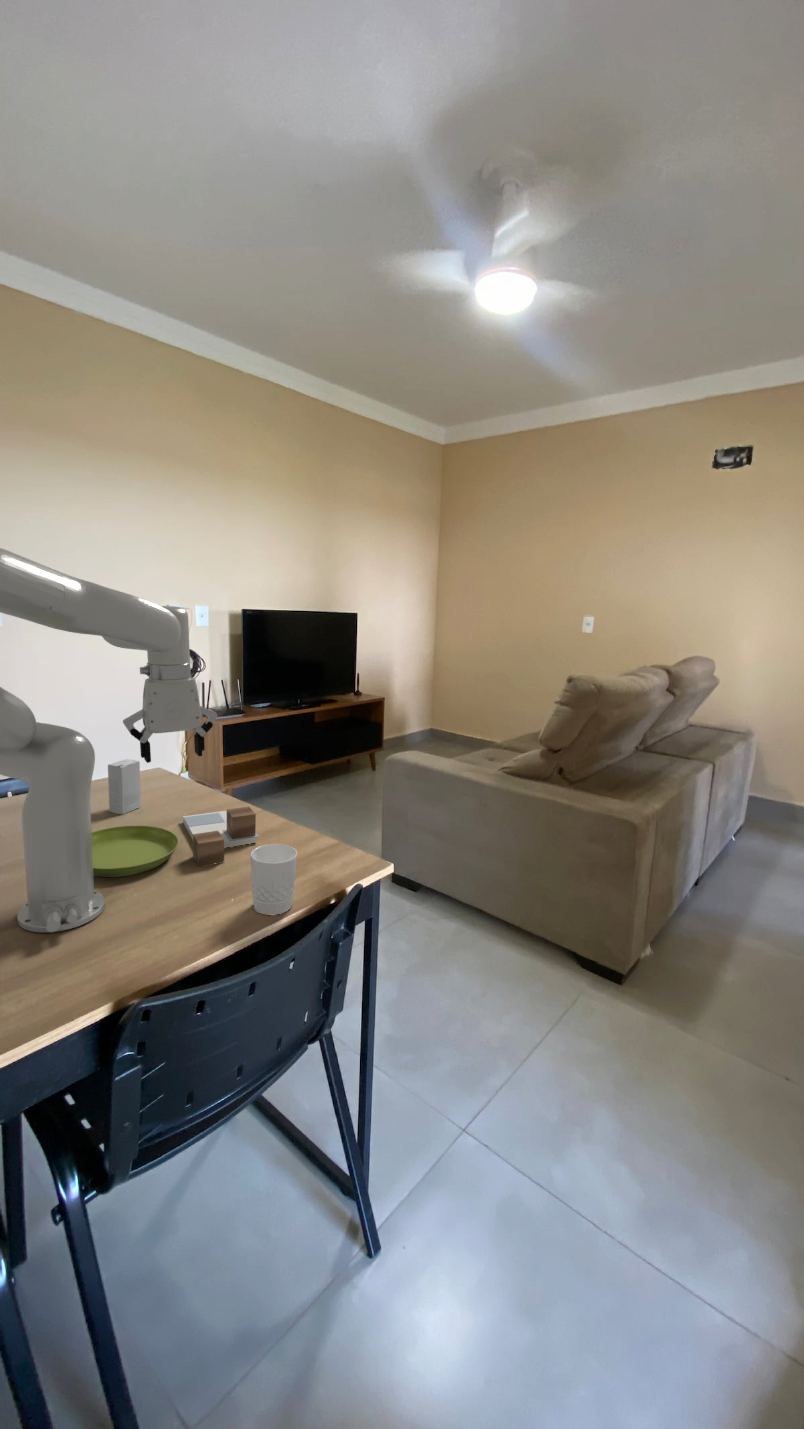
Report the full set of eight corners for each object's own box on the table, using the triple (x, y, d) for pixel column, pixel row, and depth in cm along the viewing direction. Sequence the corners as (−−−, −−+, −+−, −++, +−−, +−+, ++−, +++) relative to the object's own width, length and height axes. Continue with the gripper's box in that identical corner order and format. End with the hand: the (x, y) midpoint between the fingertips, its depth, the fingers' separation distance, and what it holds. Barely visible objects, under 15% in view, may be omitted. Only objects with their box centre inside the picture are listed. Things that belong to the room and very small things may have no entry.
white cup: (247, 898, 106) (248, 846, 104) (291, 892, 109) (292, 842, 107) (252, 920, 99) (253, 865, 97) (299, 914, 102) (301, 860, 100)
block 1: (224, 862, 119) (224, 839, 119) (198, 867, 117) (198, 843, 116) (218, 853, 124) (218, 830, 123) (193, 857, 121) (193, 834, 120)
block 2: (255, 835, 129) (255, 814, 128) (232, 839, 127) (232, 817, 126) (248, 827, 134) (249, 806, 133) (226, 830, 131) (226, 809, 130)
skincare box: (127, 804, 147) (126, 757, 145) (142, 807, 146) (140, 760, 144) (108, 812, 142) (106, 763, 139) (122, 815, 140) (120, 766, 138)
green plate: (60, 891, 105) (60, 875, 104) (68, 846, 123) (67, 831, 123) (184, 874, 114) (183, 858, 113) (174, 834, 132) (174, 820, 132)
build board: (259, 843, 129) (259, 836, 129) (199, 852, 123) (199, 845, 123) (237, 815, 145) (237, 808, 144) (182, 822, 138) (182, 815, 138)
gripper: (123, 677, 105) (129, 769, 109) (220, 672, 114) (223, 757, 118) (117, 671, 111) (122, 758, 115) (210, 667, 120) (212, 747, 124)
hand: (173, 757), depth 117 cm, fingers open, 9 cm apart
